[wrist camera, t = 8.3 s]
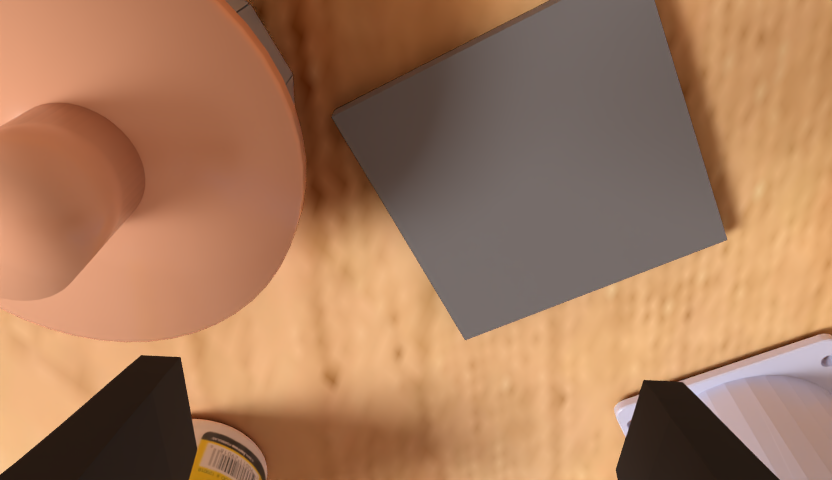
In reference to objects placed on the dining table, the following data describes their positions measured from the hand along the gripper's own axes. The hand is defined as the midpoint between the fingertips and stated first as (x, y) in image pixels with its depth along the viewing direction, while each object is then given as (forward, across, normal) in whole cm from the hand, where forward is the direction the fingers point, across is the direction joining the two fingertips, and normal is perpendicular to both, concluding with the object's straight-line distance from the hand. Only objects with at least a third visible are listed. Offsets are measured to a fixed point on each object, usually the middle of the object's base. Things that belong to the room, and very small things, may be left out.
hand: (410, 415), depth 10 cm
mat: (+10, -4, 0) cm, 11 cm away
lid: (+6, +8, -1) cm, 10 cm away
